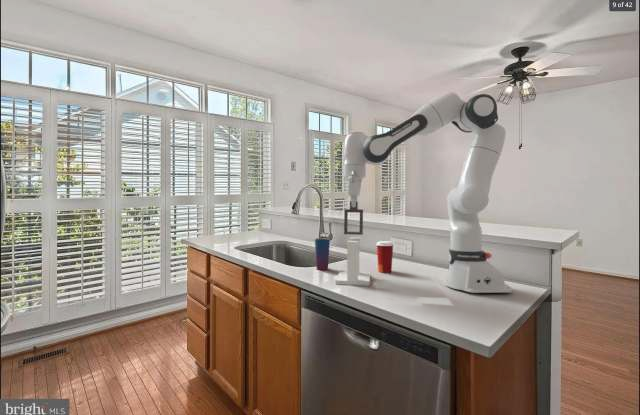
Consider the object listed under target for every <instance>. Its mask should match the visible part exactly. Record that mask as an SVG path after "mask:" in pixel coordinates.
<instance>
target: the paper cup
mask: <svg viewBox="0 0 640 415" xmlns="http://www.w3.org/2000/svg"><path fill="white" fill-rule="evenodd" d="M376 249H377V250H376V253H377V266H378V267H377V270H378V272H379V273H380V274H381V273H382V274H391V273H392V269H393V267H392V266H393V252H394V251H393V250H394V242H393V241H387V240H386V241H385V240H384V241H383V240H380V241H377V242H376Z"/></svg>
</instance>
